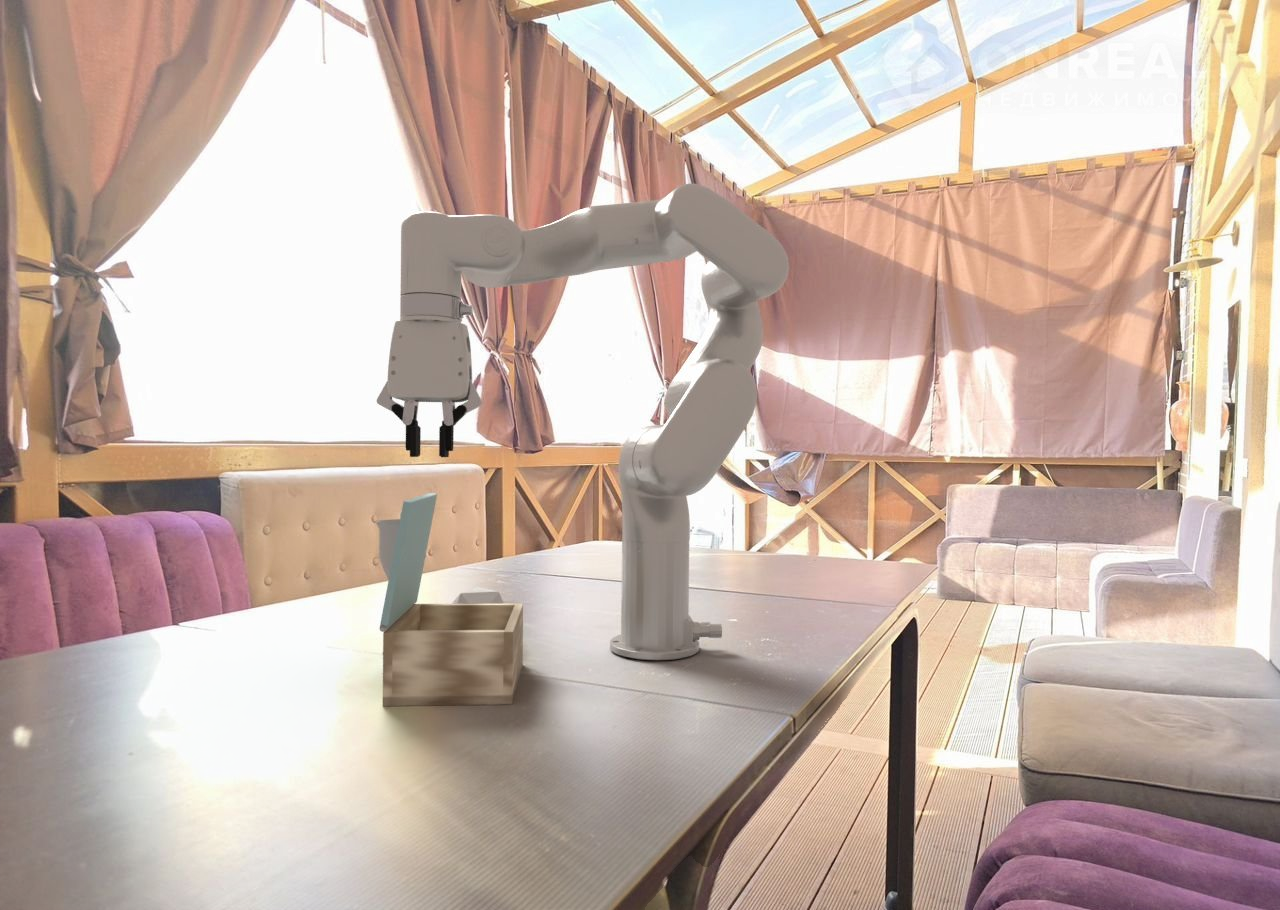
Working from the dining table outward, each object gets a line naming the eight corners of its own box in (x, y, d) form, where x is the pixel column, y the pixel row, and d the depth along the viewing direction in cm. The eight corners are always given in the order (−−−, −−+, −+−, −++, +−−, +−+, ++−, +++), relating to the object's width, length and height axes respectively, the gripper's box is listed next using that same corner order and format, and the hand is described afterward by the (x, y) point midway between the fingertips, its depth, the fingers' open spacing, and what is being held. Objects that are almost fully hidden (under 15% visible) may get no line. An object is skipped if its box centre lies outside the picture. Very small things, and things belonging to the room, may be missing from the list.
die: (522, 651, 112) (517, 588, 118) (490, 632, 105) (486, 566, 111) (470, 669, 114) (467, 605, 120) (435, 651, 107) (433, 584, 112)
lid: (437, 494, 102) (424, 491, 102) (410, 502, 86) (396, 499, 86) (416, 603, 102) (404, 601, 102) (386, 632, 86) (371, 629, 86)
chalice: (436, 646, 112) (437, 519, 111) (418, 659, 105) (419, 524, 105) (386, 644, 112) (387, 518, 112) (365, 657, 106) (366, 523, 105)
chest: (522, 664, 103) (523, 603, 103) (512, 704, 87) (512, 631, 87) (413, 665, 102) (413, 603, 102) (382, 706, 86) (383, 632, 86)
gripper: (498, 319, 105) (497, 457, 105) (373, 316, 104) (371, 456, 104) (492, 309, 98) (491, 458, 98) (357, 306, 96) (355, 456, 96)
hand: (429, 455), depth 101 cm, fingers open, 3 cm apart
